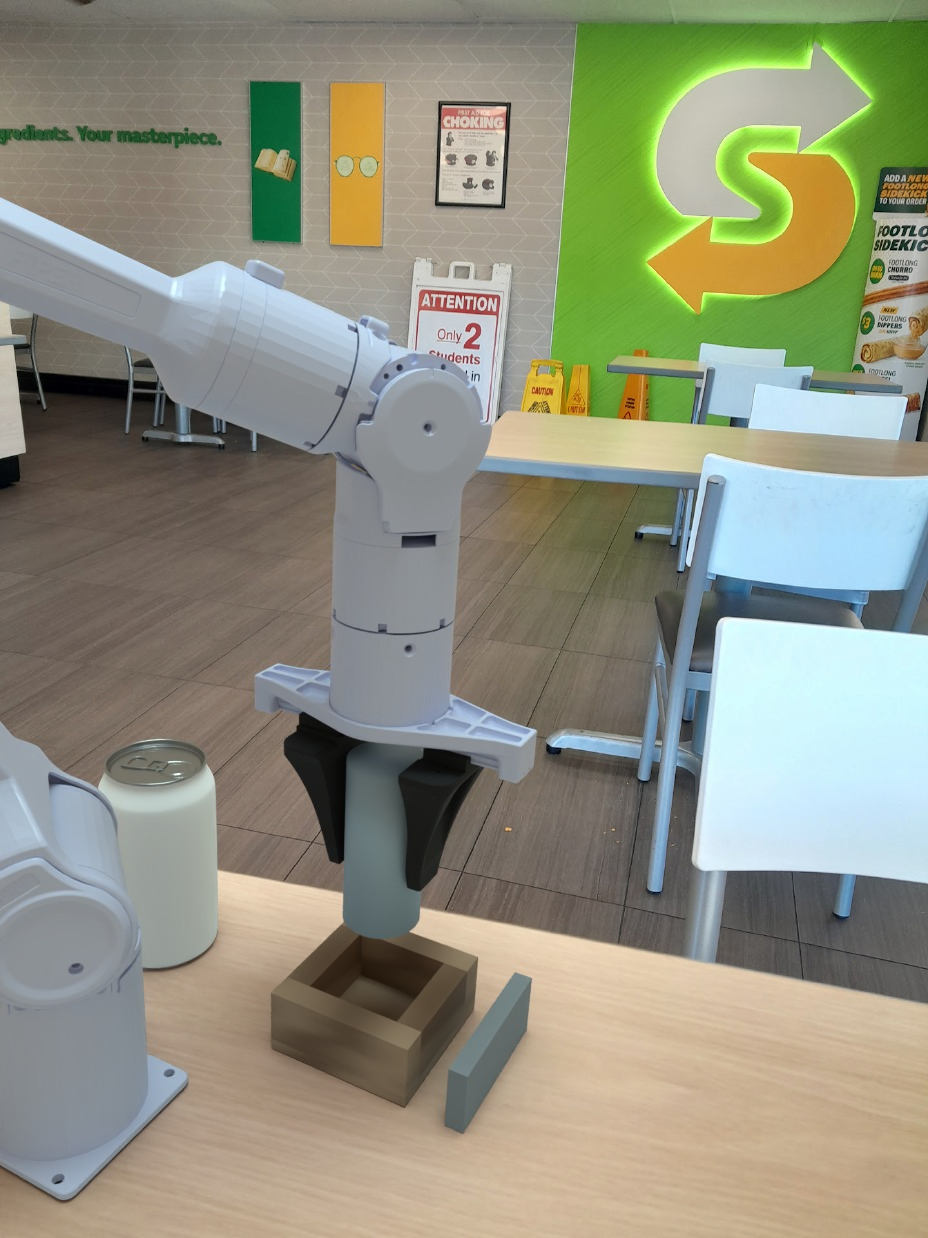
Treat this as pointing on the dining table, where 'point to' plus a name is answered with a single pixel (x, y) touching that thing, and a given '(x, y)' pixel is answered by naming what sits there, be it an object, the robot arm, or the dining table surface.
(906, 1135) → the dining table surface
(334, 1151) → the dining table surface
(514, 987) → the backstop wall
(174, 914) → the can
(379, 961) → the frame
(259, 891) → the dining table surface
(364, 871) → the dowel
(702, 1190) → the dining table surface
